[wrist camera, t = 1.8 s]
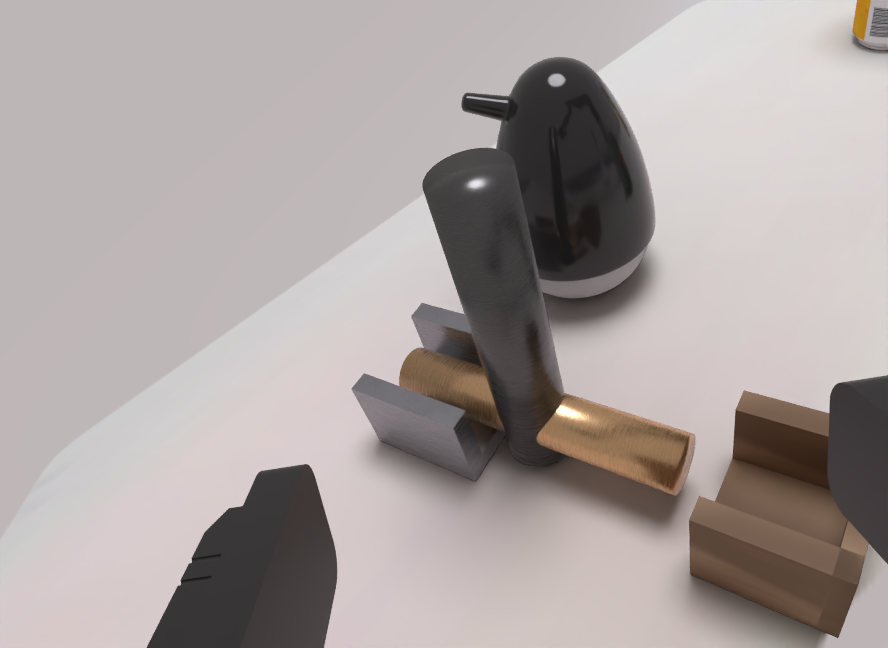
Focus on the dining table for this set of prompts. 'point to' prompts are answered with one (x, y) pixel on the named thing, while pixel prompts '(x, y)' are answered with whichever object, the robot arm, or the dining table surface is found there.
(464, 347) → the guide channel
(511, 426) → the copper and grey mallet
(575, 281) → the pump dispenser
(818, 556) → the socket
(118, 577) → the dining table surface
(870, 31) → the beer can
